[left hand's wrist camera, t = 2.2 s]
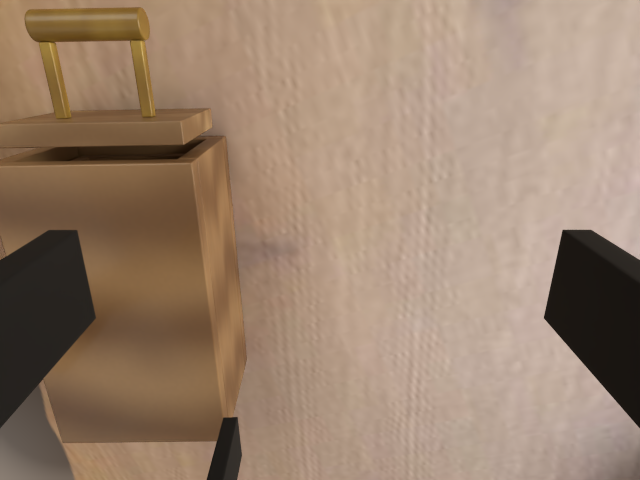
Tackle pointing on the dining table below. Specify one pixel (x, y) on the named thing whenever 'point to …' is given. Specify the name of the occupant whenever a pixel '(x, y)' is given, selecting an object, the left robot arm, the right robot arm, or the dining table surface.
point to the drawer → (100, 124)
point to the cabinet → (140, 286)
